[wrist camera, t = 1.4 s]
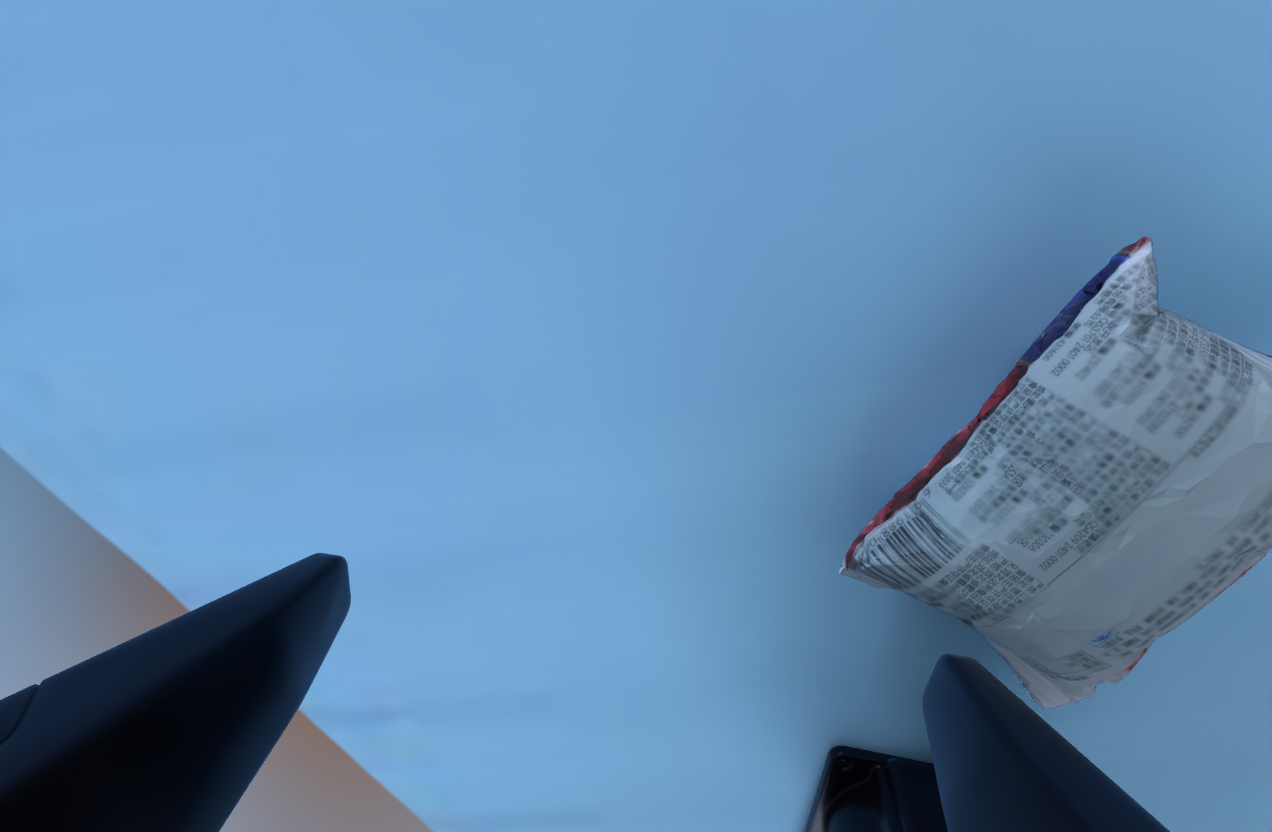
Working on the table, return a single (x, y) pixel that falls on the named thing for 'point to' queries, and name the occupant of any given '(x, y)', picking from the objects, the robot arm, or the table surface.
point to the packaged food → (1090, 490)
